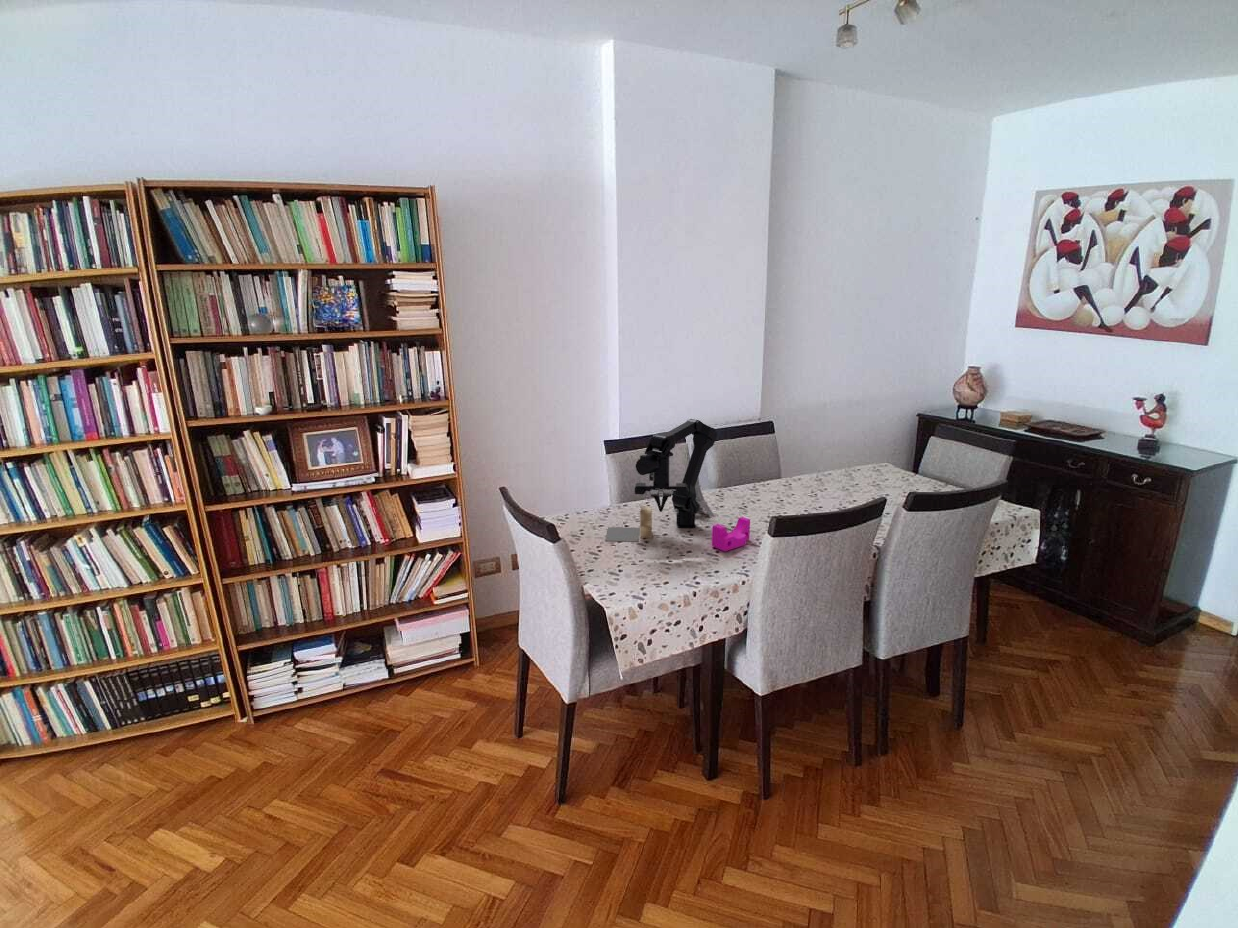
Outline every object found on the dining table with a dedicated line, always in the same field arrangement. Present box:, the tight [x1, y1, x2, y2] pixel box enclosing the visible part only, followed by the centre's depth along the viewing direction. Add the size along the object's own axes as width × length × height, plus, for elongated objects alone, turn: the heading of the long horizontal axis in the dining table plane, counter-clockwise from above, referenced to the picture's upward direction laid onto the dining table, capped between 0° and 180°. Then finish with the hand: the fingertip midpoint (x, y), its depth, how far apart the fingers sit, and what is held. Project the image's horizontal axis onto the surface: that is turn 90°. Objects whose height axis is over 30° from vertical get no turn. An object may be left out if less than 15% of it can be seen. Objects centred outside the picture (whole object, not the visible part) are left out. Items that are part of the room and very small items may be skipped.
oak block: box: [639, 505, 653, 539], centre depth 231 cm, size 4×6×10 cm, turn 176°
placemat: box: [604, 526, 640, 543], centre depth 233 cm, size 12×14×1 cm
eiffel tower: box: [672, 443, 717, 518], centre depth 251 cm, size 13×13×30 cm
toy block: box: [711, 516, 751, 552], centre depth 223 cm, size 15×6×8 cm, turn 127°
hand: (660, 511), depth 230 cm, fingers closed
